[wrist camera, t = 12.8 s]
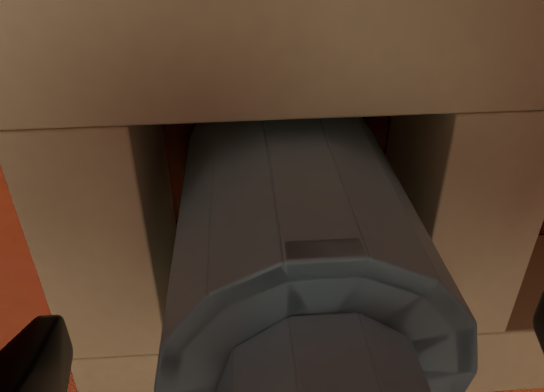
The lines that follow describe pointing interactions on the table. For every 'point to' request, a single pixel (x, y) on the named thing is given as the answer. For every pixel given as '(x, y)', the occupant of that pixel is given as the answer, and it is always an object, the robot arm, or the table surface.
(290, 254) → the bottle
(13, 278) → the table surface
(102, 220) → the hole block
